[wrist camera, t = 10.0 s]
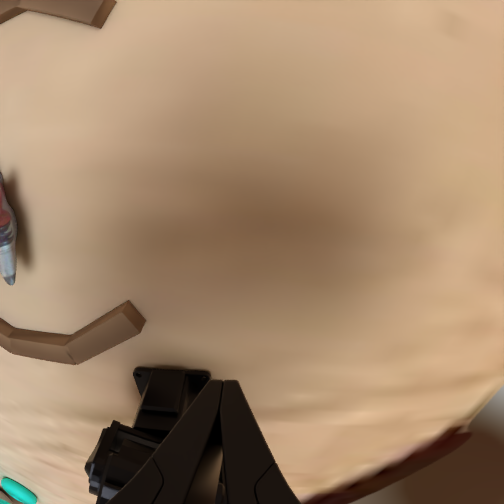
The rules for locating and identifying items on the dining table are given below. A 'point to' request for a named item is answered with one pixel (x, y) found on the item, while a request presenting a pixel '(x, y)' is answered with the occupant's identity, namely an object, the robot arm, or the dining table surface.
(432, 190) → the dining table surface
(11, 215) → the brake caliper
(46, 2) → the bent brown bar
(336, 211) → the dining table surface
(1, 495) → the soup bowl
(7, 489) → the donuts
